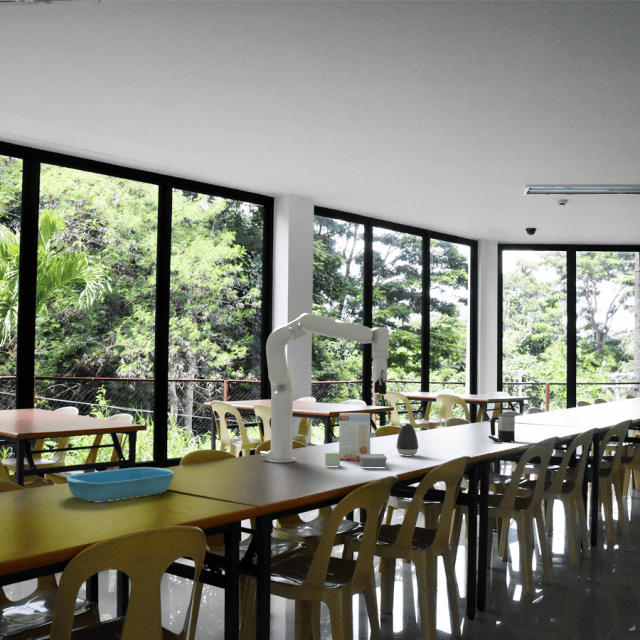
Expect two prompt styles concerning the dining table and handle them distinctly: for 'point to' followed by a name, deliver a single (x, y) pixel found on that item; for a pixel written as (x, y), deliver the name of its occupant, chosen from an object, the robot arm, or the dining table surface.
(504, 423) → the milk frother
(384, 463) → the grey storage box
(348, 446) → the cracker box
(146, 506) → the dining table surface
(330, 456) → the green cube
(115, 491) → the casserole dish
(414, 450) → the dark grey rounded piece
